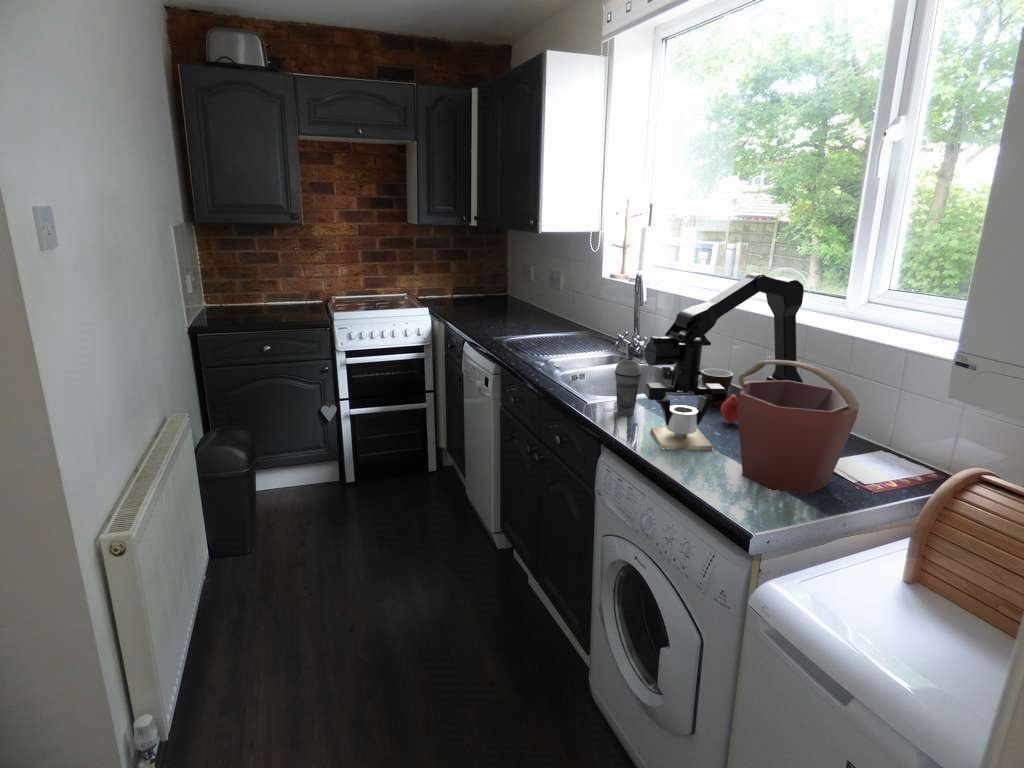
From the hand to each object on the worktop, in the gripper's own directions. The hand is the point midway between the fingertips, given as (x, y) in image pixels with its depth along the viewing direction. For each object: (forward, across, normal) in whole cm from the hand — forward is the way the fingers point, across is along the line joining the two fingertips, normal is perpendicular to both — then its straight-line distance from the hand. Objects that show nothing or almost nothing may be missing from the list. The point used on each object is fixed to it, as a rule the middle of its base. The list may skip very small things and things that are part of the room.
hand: (681, 425), depth 152 cm
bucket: (+4, -17, +20) cm, 27 cm away
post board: (+4, 0, 0) cm, 4 cm away
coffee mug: (+4, -18, -29) cm, 34 cm away
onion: (+4, -17, -13) cm, 22 cm away
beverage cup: (+4, +10, -20) cm, 23 cm away
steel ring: (+1, 0, 0) cm, 1 cm away
